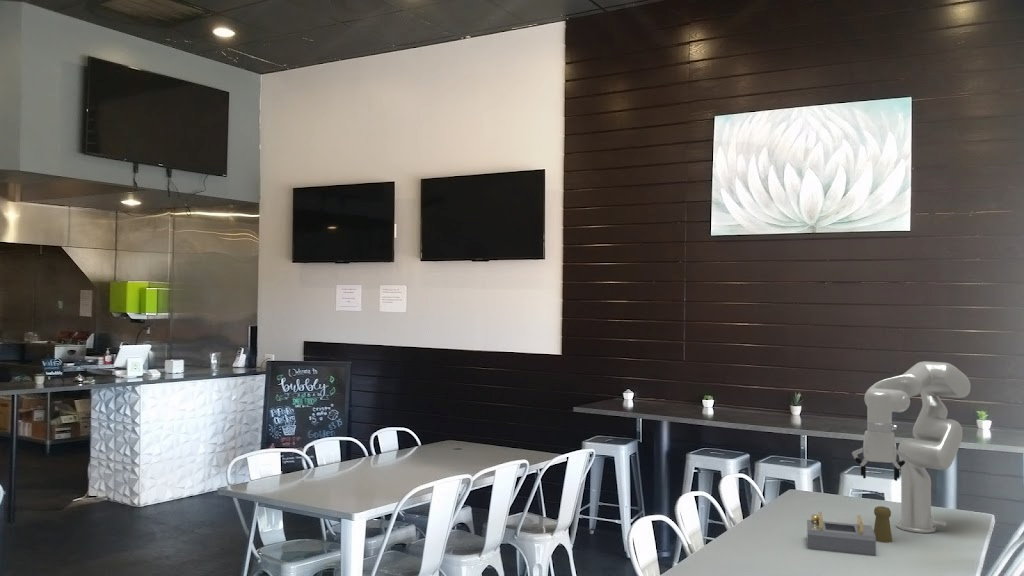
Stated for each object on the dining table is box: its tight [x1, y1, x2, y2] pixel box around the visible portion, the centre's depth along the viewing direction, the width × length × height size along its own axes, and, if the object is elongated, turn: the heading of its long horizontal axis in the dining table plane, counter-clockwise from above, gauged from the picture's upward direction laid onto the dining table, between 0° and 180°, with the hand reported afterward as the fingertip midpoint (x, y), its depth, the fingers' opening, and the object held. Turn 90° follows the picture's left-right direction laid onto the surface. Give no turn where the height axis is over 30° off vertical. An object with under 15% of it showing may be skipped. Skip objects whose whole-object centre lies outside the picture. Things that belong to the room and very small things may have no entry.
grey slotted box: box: [806, 511, 877, 557], centre depth 262 cm, size 20×14×10 cm
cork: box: [873, 506, 893, 543], centre depth 270 cm, size 6×6×11 cm
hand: (879, 478), depth 271 cm, fingers open, 9 cm apart
